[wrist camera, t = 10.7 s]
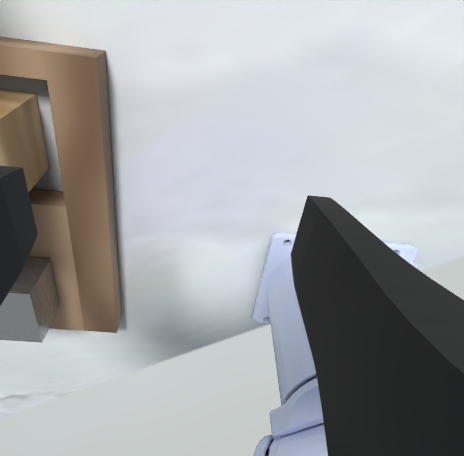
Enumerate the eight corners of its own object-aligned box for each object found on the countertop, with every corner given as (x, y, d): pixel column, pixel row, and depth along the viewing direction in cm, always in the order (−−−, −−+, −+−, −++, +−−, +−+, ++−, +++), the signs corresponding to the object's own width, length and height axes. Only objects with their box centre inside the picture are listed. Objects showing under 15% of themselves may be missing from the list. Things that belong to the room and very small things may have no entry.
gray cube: (60, 242, 23) (29, 294, 20) (67, 288, 26) (42, 342, 22) (-8, 236, 23) (-51, 288, 19) (6, 283, 25) (-30, 337, 22)
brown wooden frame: (105, 50, 17) (96, 57, 16) (121, 316, 27) (116, 332, 26) (-157, 15, 16) (-188, 19, 15) (-38, 304, 26) (-50, 321, 25)
